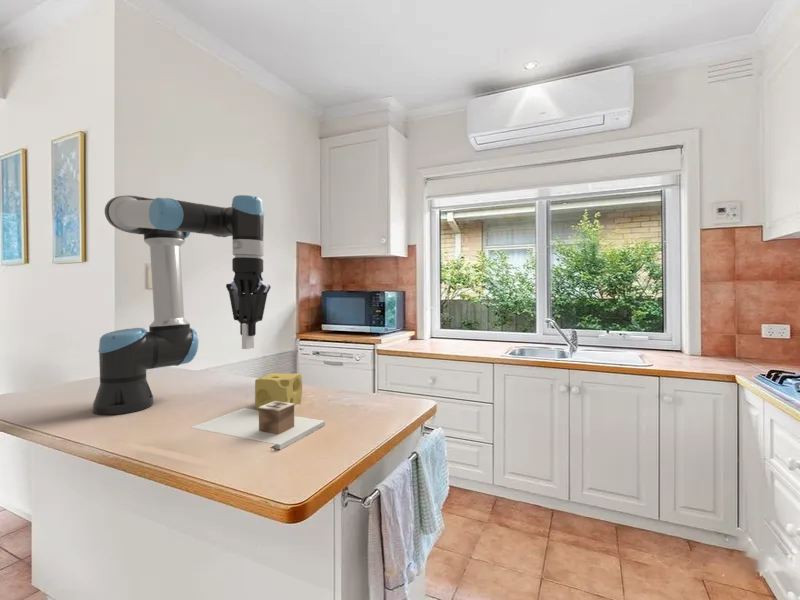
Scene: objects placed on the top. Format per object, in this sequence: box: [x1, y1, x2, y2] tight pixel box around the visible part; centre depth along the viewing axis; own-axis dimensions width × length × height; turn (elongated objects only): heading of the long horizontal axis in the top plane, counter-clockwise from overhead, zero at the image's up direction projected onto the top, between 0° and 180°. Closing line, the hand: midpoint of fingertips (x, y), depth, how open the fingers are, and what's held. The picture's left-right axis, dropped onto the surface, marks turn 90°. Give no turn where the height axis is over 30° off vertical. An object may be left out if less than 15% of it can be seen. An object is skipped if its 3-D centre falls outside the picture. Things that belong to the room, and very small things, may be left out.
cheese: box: [254, 372, 303, 410], centre depth 125 cm, size 10×11×10 cm
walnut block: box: [258, 401, 295, 435], centre depth 104 cm, size 6×6×6 cm
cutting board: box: [190, 407, 326, 450], centre depth 107 cm, size 28×18×1 cm, turn 67°
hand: (247, 348), depth 108 cm, fingers closed
